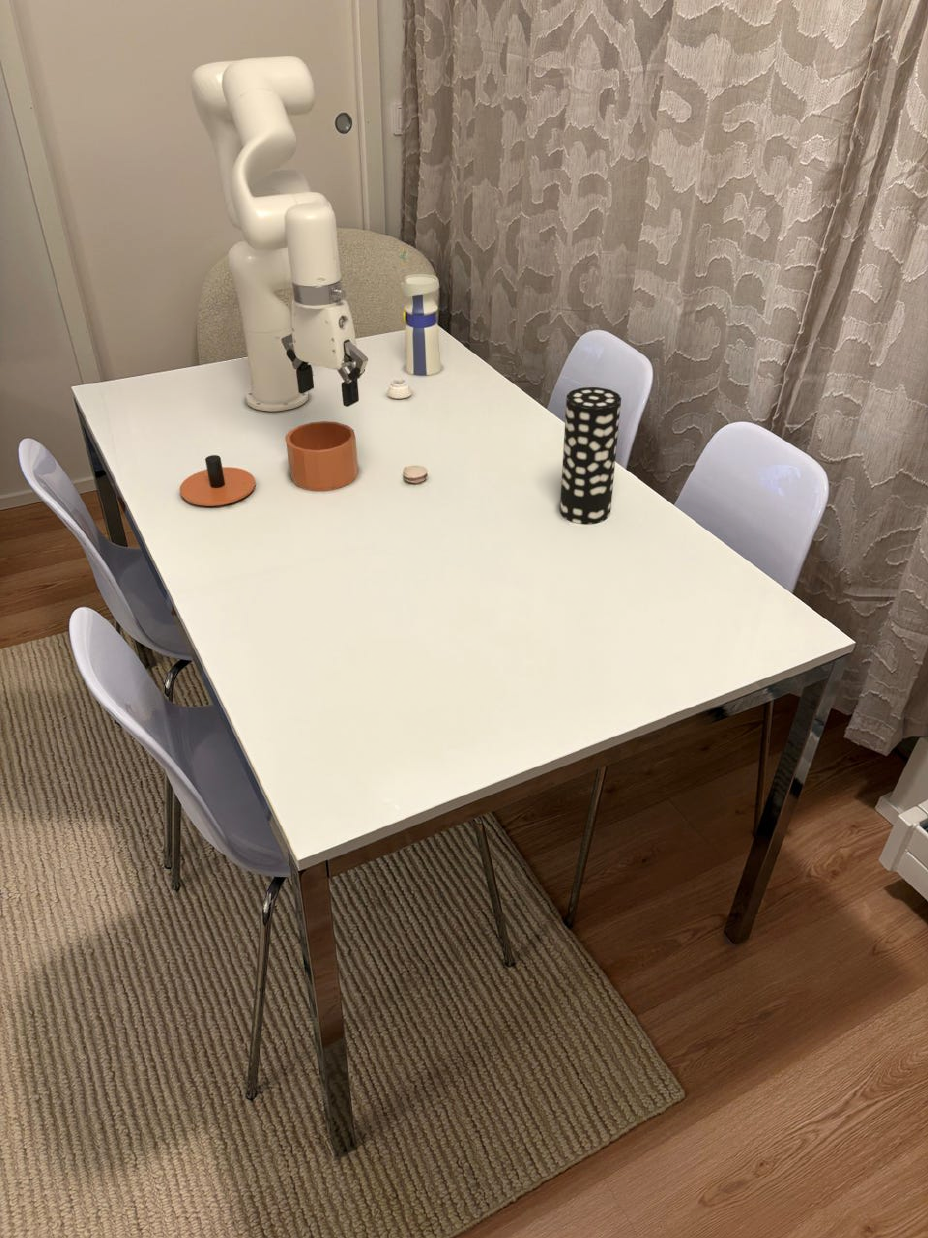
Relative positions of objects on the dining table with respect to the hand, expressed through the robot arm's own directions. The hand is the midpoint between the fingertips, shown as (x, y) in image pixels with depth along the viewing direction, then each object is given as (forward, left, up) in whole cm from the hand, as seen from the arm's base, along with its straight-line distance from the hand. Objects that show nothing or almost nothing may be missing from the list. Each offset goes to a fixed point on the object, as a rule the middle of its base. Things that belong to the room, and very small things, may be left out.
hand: (328, 397), depth 154 cm
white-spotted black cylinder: (-15, +41, -16) cm, 46 cm away
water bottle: (-51, -17, -16) cm, 56 cm away
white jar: (-37, -13, -16) cm, 42 cm away
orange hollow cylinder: (-2, -4, -16) cm, 17 cm away
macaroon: (-9, +10, -16) cm, 21 cm away
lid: (+13, -16, -16) cm, 26 cm away
